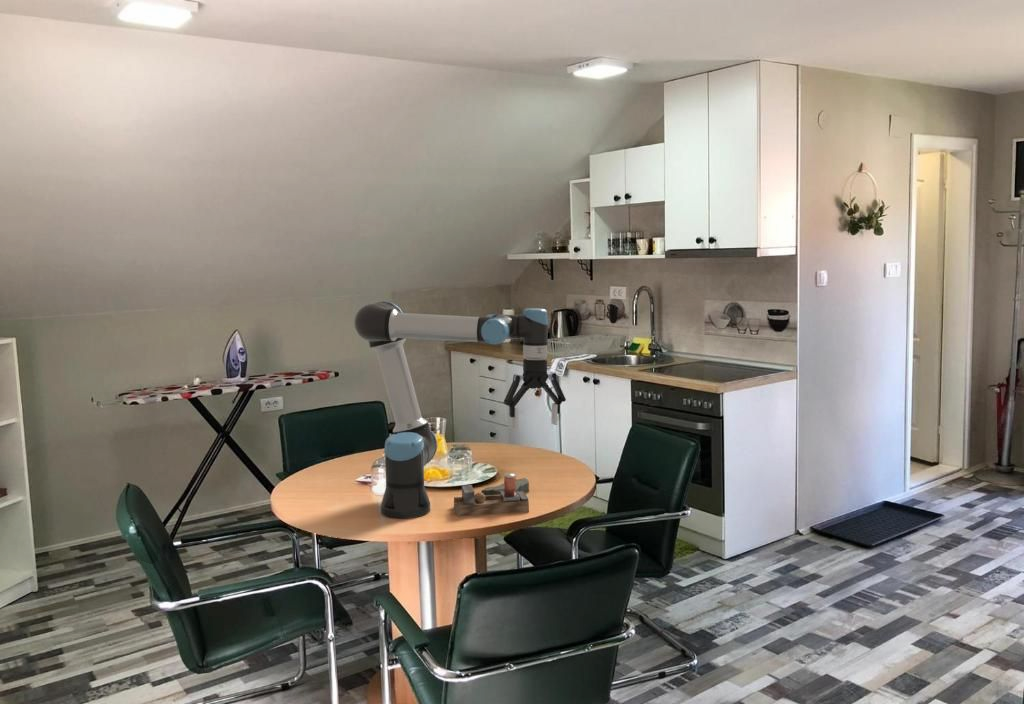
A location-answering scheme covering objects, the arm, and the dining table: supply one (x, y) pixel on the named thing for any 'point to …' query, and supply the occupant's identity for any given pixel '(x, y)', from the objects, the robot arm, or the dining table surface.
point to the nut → (479, 498)
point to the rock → (520, 486)
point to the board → (487, 504)
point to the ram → (509, 489)
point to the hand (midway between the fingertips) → (534, 425)
